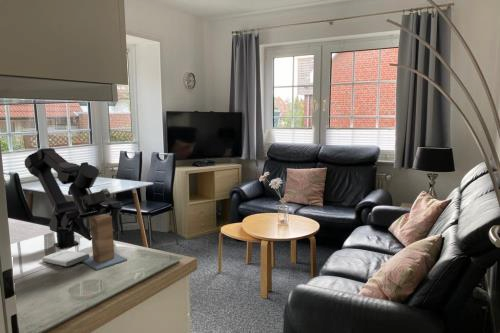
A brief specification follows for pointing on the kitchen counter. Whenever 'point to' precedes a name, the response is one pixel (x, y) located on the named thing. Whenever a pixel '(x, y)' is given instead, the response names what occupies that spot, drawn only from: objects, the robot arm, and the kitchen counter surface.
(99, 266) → the rubber mat
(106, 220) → the walnut block
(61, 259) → the external hard drive
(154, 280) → the kitchen counter surface
